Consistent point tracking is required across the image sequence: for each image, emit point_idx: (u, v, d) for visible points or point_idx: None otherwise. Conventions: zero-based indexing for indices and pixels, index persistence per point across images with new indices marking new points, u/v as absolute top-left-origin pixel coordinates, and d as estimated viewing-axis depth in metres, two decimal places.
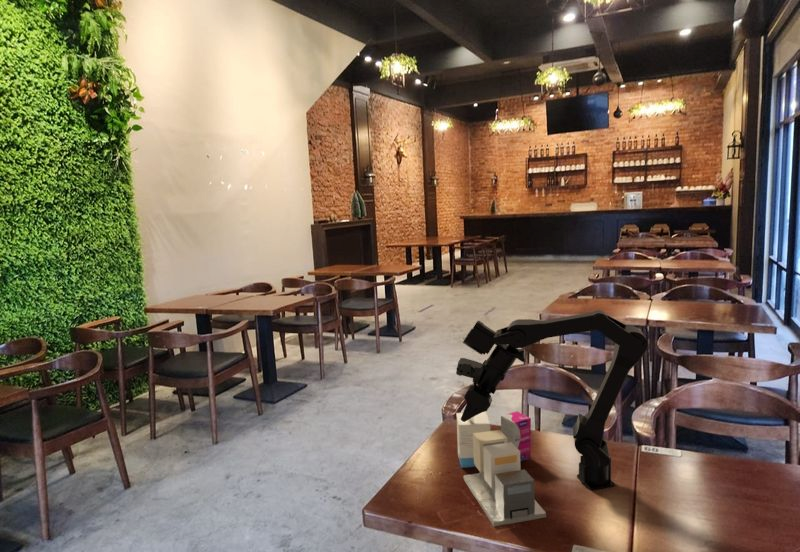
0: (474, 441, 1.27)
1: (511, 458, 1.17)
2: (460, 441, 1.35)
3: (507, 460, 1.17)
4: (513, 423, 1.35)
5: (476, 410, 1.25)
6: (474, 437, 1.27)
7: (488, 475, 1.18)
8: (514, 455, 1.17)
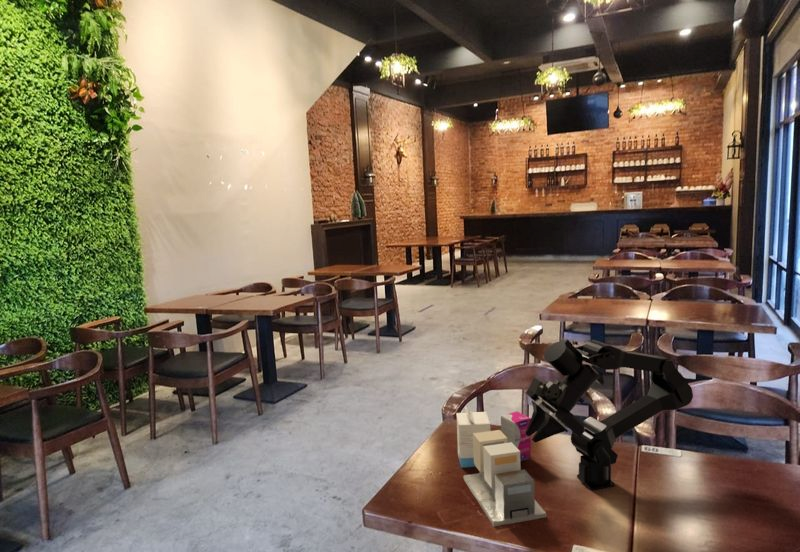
0: (474, 441, 1.27)
1: (511, 458, 1.17)
2: (460, 441, 1.35)
3: (507, 460, 1.17)
4: (513, 423, 1.35)
5: (554, 430, 1.17)
6: (474, 437, 1.27)
7: (488, 475, 1.18)
8: (514, 455, 1.17)
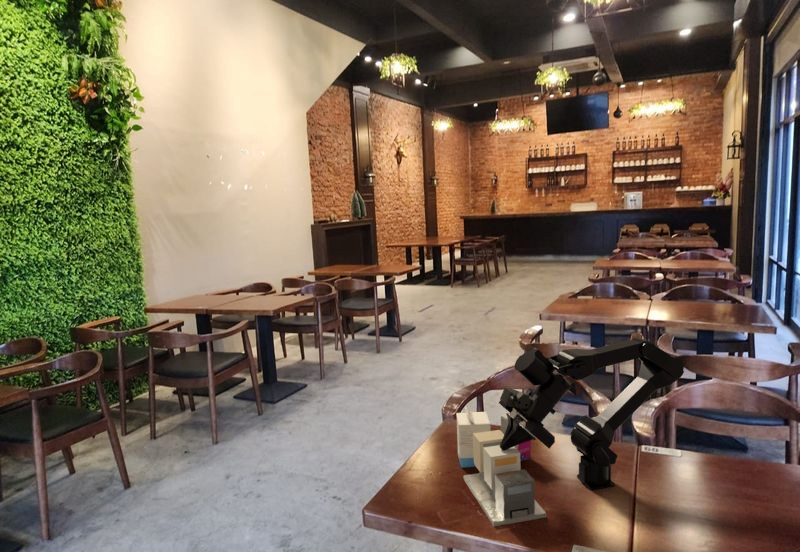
0: (474, 441, 1.27)
1: (511, 459, 1.17)
2: (460, 441, 1.35)
3: (507, 461, 1.17)
4: None
5: (522, 438, 1.18)
6: (474, 437, 1.27)
7: (488, 476, 1.19)
8: (514, 456, 1.17)
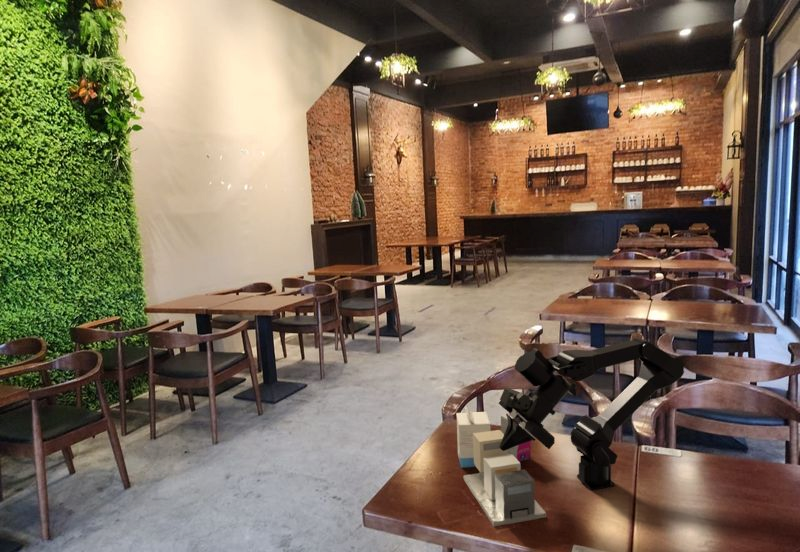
0: (474, 441, 1.27)
1: (511, 470, 1.17)
2: (460, 441, 1.35)
3: None
4: None
5: (522, 439, 1.18)
6: (474, 437, 1.27)
7: (488, 487, 1.19)
8: (515, 467, 1.18)
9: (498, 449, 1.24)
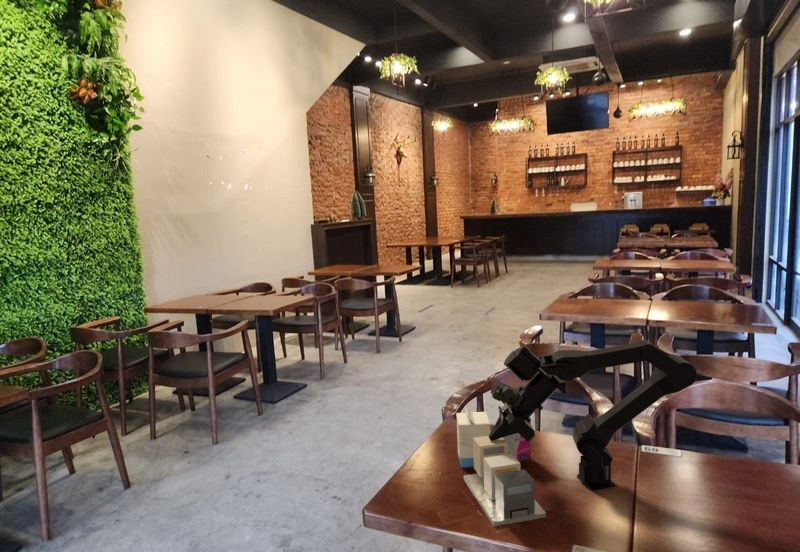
0: (474, 446, 1.27)
1: (511, 470, 1.17)
2: (460, 441, 1.35)
3: None
4: None
5: (510, 431, 1.24)
6: (474, 442, 1.27)
7: (488, 487, 1.19)
8: (515, 467, 1.18)
9: (498, 454, 1.24)
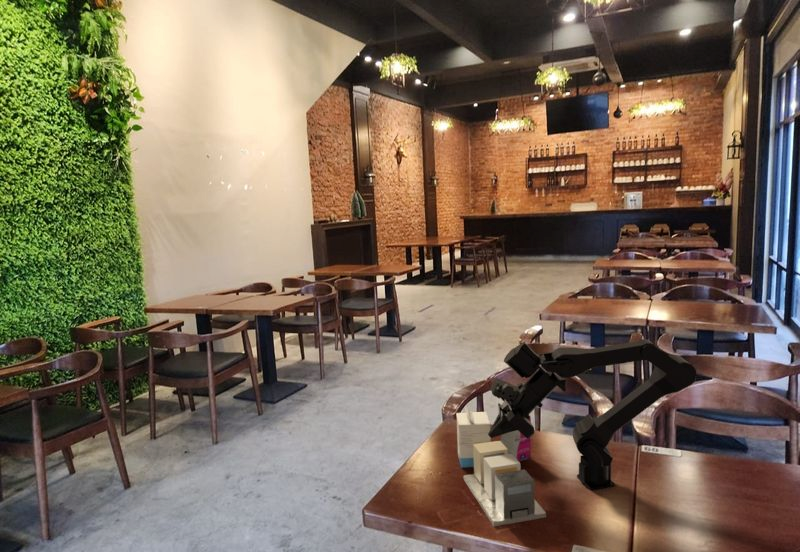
0: (474, 452, 1.27)
1: (511, 470, 1.17)
2: (460, 441, 1.35)
3: None
4: None
5: (509, 428, 1.24)
6: (474, 448, 1.27)
7: (488, 487, 1.19)
8: (515, 467, 1.18)
9: None
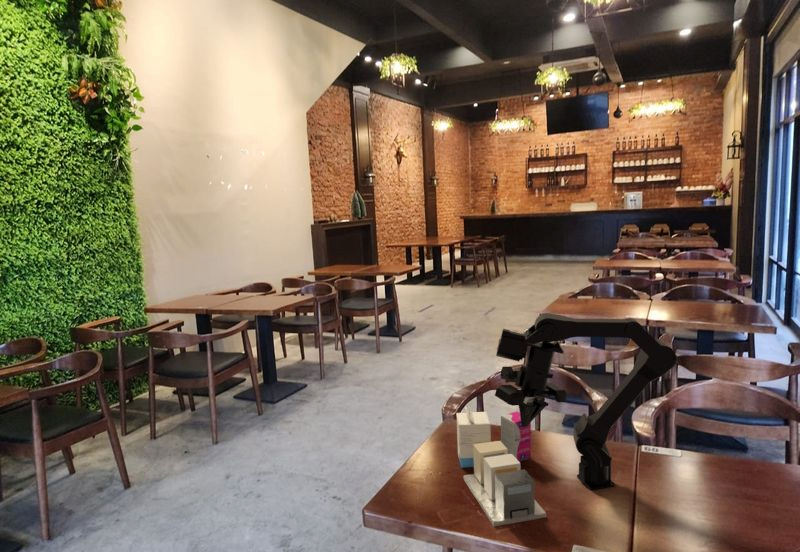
0: (474, 452, 1.27)
1: (511, 470, 1.17)
2: (460, 441, 1.35)
3: None
4: (513, 423, 1.35)
5: (527, 409, 1.24)
6: (474, 448, 1.27)
7: (488, 487, 1.19)
8: (515, 467, 1.18)
9: None
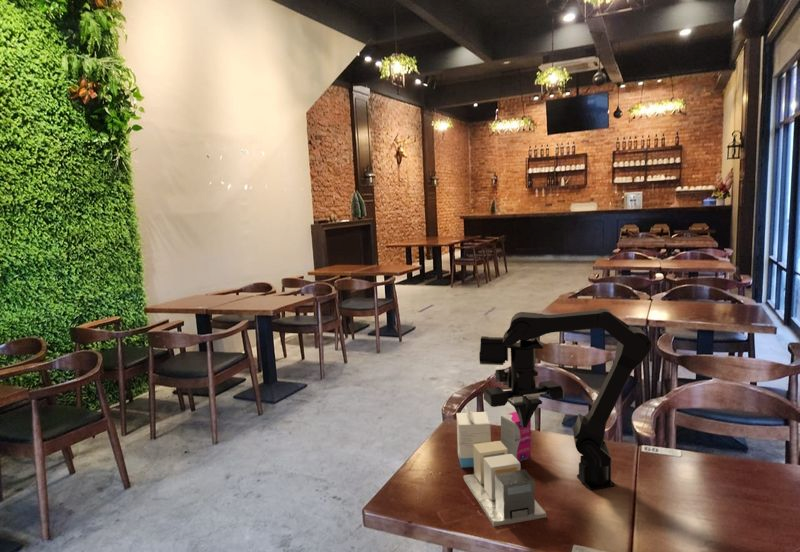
0: (474, 452, 1.27)
1: (511, 470, 1.17)
2: (460, 441, 1.35)
3: None
4: (513, 423, 1.35)
5: None
6: (474, 448, 1.27)
7: (488, 487, 1.19)
8: (515, 467, 1.18)
9: None
